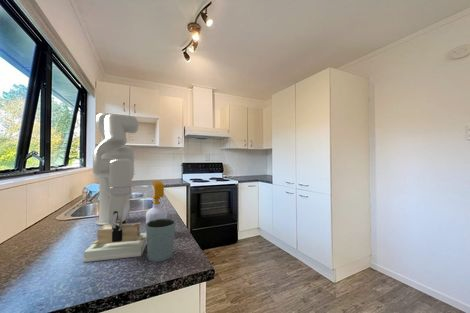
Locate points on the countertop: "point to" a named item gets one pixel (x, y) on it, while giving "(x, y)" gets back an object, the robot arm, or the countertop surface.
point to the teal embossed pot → (160, 239)
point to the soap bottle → (157, 203)
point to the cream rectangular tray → (115, 249)
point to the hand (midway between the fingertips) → (120, 237)
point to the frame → (128, 233)
